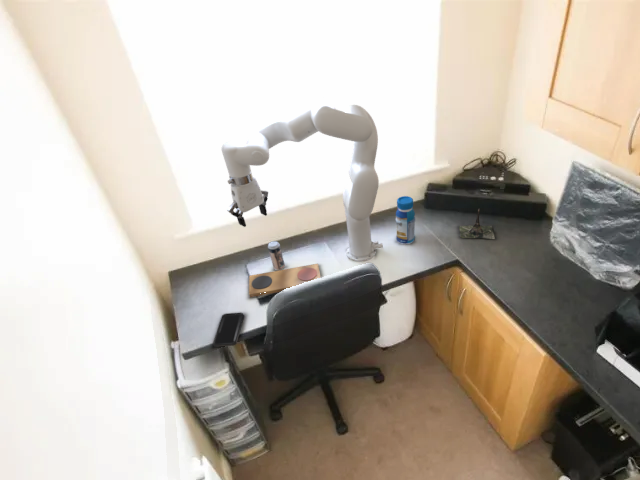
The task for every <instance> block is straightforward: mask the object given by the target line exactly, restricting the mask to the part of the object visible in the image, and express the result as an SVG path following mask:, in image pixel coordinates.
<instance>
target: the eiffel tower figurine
mask: <svg viewBox="0 0 640 480" xmlns="http://www.w3.org/2000/svg"><path fill="white" fill-rule="evenodd" d="M480 210H481V209H480V208H478V209H477V215H476V219H475V222H474V225H458V230H459V236H460V238H462V239H488V240H496V238H495V234H494V230H493V226H492V225H481V223H480Z"/></svg>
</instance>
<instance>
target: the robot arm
mask: <svg viewBox="0 0 640 480" xmlns="http://www.w3.org/2000/svg"><path fill="white" fill-rule="evenodd" d="M318 132H319V133H321V134H323V135H326V136H329V137H332V138H337V139H341V140H344V141H345V140H346V141H351V142H353V148H352V154H351V161H350V164H349V169H348V175H349V179H350V181H351V183H349V184H347V185H346V186H345V187H344V189H343V191H342V202H343V206H344V207H343V208H344V215H345V221H346V222H345V223H346V230H347V238H348V247H347V249H346V256H347V258H348V259H349V260H351V261H354V262H366V261H368V260H371V259H372V258H374V257H375V255H376V252H377V249H383V248H384V246H383V243H382V242H381V243H380V242H379V240H377V241H372V234H371V233H372V231H371V217H370V216H371V215H372V212H373V210H374V207H375V203H376V198H377V194H378V189H379V184H380V183H379V181H380V180H379V175H378V173H377V171H376V168H375V162H376V157H377V153H378V143H379V135H378V129H377V126H376V124H375V120H374V119H373V117H372V116H371V114H370V113H369V112H368V111H367V110H366V109H365V108H364V107H362V106H361V105H358V104H351V105H349V106H348V107H346V109H345V110H344V111H342V110H339V109H337V108H336V107H335V105H334V104H333V103H332V102H331V101H330V100H329V99H327V98H319V99H316V100H315V101H313V102H310V103H309V104H307V105H306V106H304V107H302V108H301V109H299V110H297V111H296V112H294V113H292V114H291V115H289V116H287V117H284V118H282V119H279V120H276V121H273V122H270V123H268V124H266V125H264V126H262V127H260V128H259V129H257V130H255V131H253V132H252V133H251V134H250V135H249V136H248V137H247V139H246V144H244V143H243V142H241V141H239V140H230V141H228V142H225V143H224V144H222V145H221V153H222V156H223V160H224V163H225V166H226V169H227V172H228V179H227V183H228V184H229V185H230V193H231V199H232V203H231V204H230V205H229V206H228V208H227V209H226V211H227V212H228V213H229V214H230V215H232V216H233V217H235V218H236V219H237V223H238V224H239V225H240V226H242V227H243V228H246V227H247V224H246V220H245V217H244V216H243V215H244V213H247V212H249V211H252V210H254V209H255V208H257V207H258V208H259V212H260V214H261V215H262V216H265V217H266V216H268V210H267V207H266V206H267V201H268V197H269V191H268V190H262V189H261V187H260V185H259V182H258V181H257V179H256V177H254V175H253V173H252V169H251V166H257V167H258V166H263V165H265V164H267V163H268V161H269V159H270V149H272V148H273V147H275V146H277V145H279V144H281V143H283V142H288V141H289V142H295V143H300V142H302V141H304V140H306V139H308V138H310V137H311V136H313V135H314V134H317V133H318ZM234 210H235V211H234Z"/></svg>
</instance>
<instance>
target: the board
mask: <svg viewBox="0 0 640 480" xmlns="http://www.w3.org/2000/svg"><path fill="white" fill-rule="evenodd" d="M320 271H321V270H320V266H319V263H313V264H308V265H302V266H296V267H290V268H283V269H281V270H273V271H268V272H263V273H262V272H261V273H257V274H256V273H255V274H252V275H249V277H248V296H249V298H254V297H261V296H266V295H271V294H277V293H281V292H280V291H282V290H284V289H286V288H290V287H292V286H296V285H299V284H302V283H304V282H308V281H311V280H314V279H317V278H320V277H321V276H322V275H321V272H320ZM264 292H266V293H264ZM282 292H283V291H282ZM260 293H261V294H260Z"/></svg>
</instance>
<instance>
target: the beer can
mask: <svg viewBox="0 0 640 480" xmlns="http://www.w3.org/2000/svg"><path fill="white" fill-rule="evenodd" d="M267 249H268V253H269V256H270V261H271V263H272V267H273V269H274V271H279V270H284V269H285V266H286V264H285V261H284V257H283V253H282V249H281V244H280V243H279V241H276V240H272V241H270V242H268V244H267Z"/></svg>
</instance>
